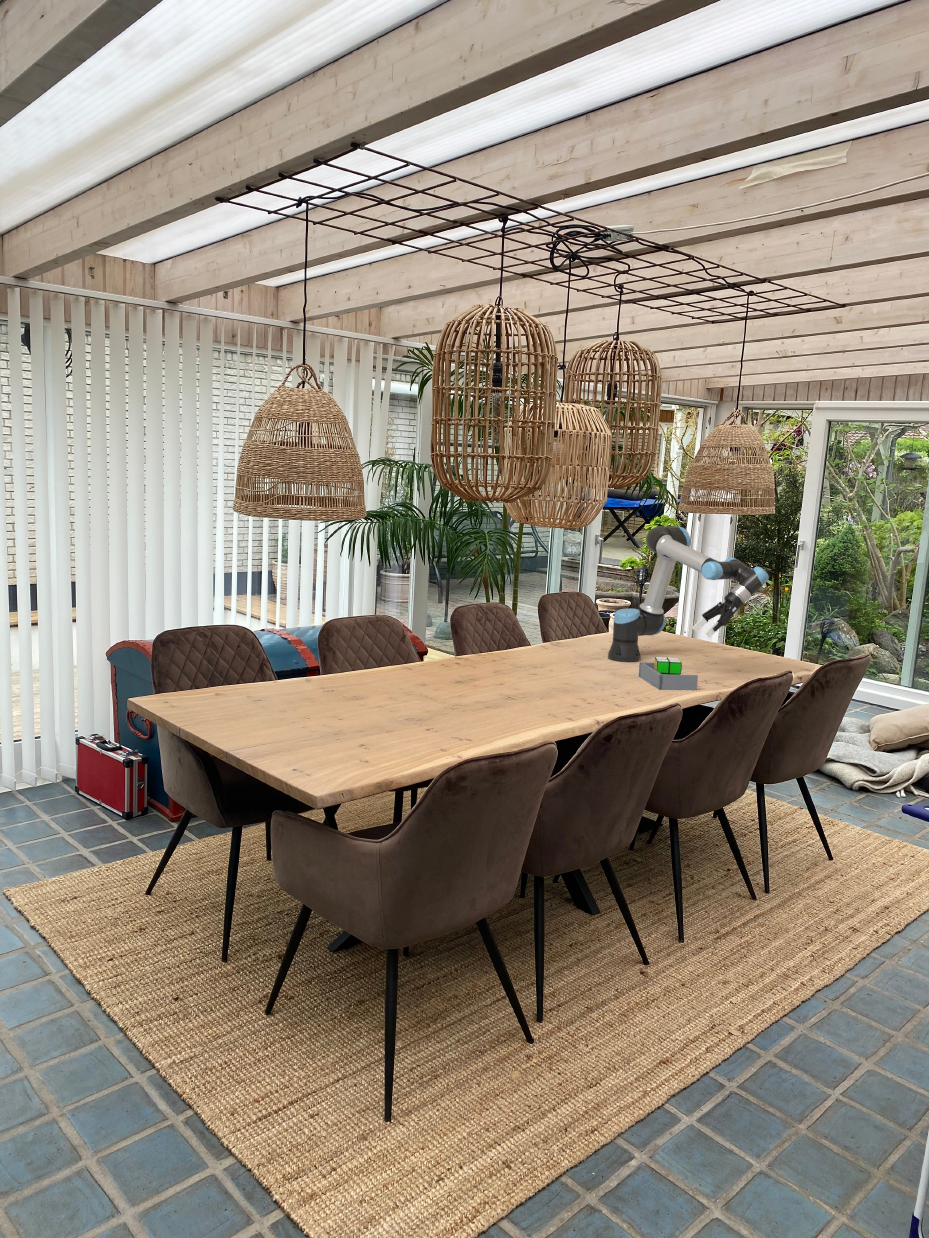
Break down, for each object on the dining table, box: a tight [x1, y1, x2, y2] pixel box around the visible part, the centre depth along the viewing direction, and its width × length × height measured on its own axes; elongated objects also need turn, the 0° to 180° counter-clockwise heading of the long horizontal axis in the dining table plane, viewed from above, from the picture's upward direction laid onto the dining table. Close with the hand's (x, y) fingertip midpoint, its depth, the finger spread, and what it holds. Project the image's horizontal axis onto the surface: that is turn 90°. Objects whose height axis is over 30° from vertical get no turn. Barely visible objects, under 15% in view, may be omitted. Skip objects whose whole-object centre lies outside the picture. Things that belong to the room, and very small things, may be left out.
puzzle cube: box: [653, 656, 683, 675], centre depth 369 cm, size 10×10×10 cm
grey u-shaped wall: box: [638, 662, 699, 691], centre depth 369 cm, size 25×16×6 cm, turn 7°
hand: (700, 632), depth 372 cm, fingers open, 13 cm apart
